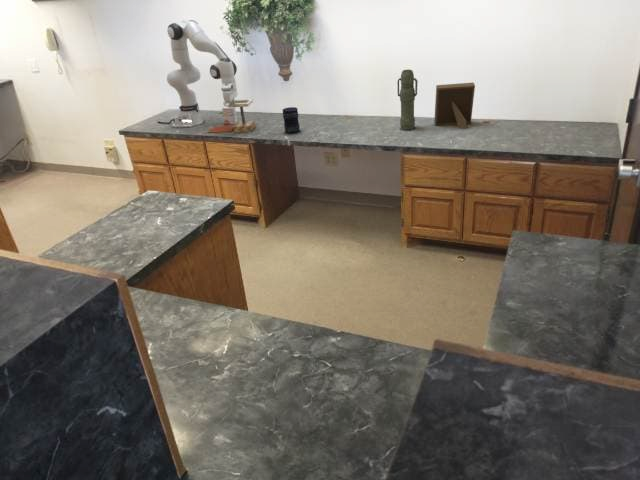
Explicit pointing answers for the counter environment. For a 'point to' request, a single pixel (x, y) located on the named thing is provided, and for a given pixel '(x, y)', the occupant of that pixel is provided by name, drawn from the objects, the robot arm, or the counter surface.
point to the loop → (245, 104)
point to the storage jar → (291, 120)
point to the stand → (244, 124)
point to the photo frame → (454, 104)
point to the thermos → (407, 99)
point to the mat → (221, 129)
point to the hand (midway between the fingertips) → (232, 106)
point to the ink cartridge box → (229, 114)
